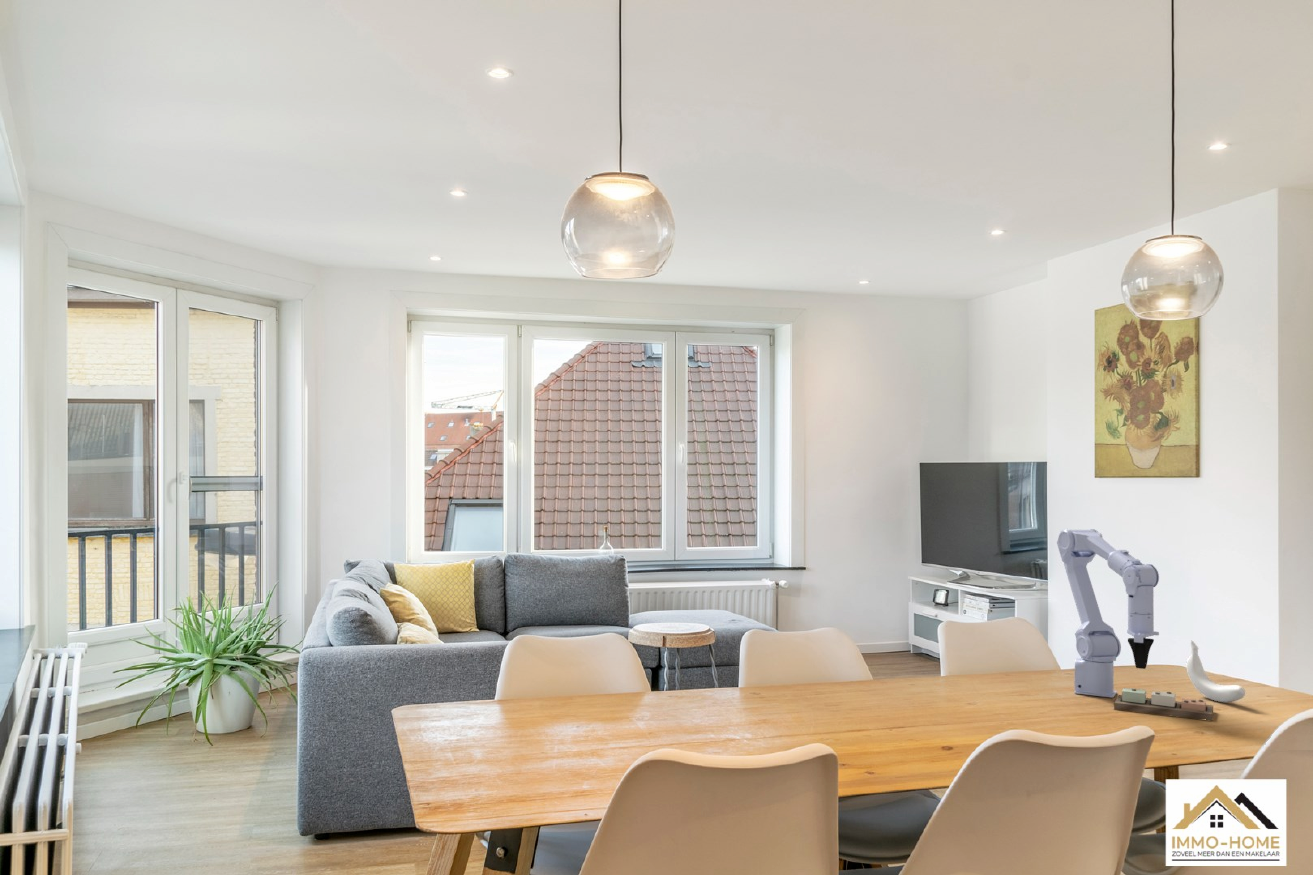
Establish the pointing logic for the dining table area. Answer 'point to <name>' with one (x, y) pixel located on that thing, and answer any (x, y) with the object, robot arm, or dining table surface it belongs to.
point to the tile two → (1163, 698)
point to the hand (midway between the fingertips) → (1140, 668)
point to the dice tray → (1163, 709)
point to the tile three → (1193, 704)
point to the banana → (1210, 681)
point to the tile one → (1134, 695)
